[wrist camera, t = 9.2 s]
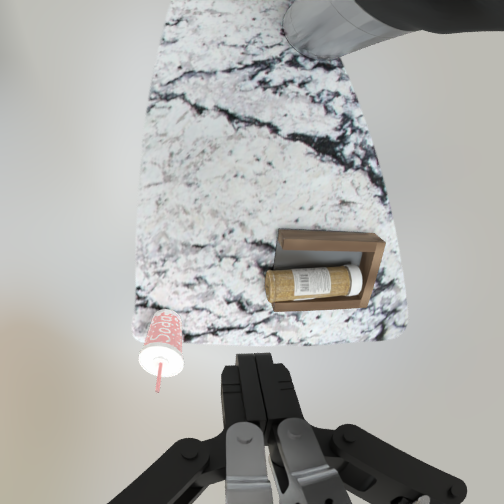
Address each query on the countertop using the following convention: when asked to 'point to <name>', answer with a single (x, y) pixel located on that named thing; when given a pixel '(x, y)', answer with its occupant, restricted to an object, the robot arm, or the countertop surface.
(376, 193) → the countertop surface
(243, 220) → the countertop surface
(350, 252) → the u rest
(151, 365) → the beverage cup
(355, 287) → the sprinkles bottle
